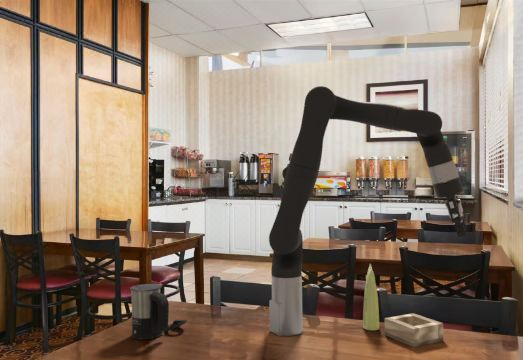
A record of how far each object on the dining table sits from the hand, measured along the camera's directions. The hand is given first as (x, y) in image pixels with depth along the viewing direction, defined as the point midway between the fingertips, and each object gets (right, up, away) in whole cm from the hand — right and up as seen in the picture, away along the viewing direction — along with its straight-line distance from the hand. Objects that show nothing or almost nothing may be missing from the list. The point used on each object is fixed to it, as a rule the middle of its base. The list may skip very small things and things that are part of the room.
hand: (462, 233), depth 142 cm
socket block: (-13, -31, +2) cm, 34 cm away
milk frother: (-89, -32, +11) cm, 95 cm away
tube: (-24, -31, +11) cm, 41 cm away
